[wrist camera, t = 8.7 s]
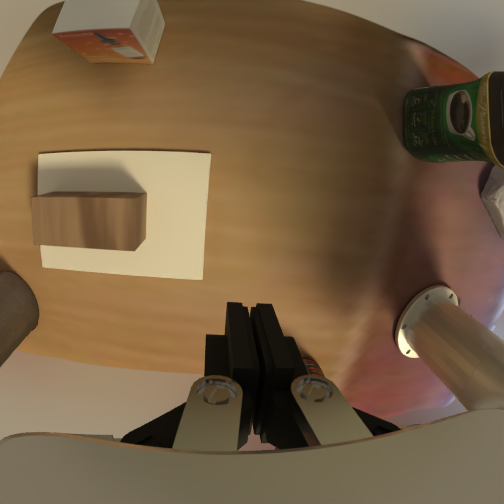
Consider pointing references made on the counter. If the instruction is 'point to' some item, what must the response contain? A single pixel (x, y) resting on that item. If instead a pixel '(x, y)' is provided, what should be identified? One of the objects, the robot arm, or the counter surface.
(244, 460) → the robot arm
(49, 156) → the cream mat
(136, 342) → the counter surface
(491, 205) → the stone block
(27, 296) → the pillar candle
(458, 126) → the coffee jar
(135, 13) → the small box
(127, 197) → the walnut block
